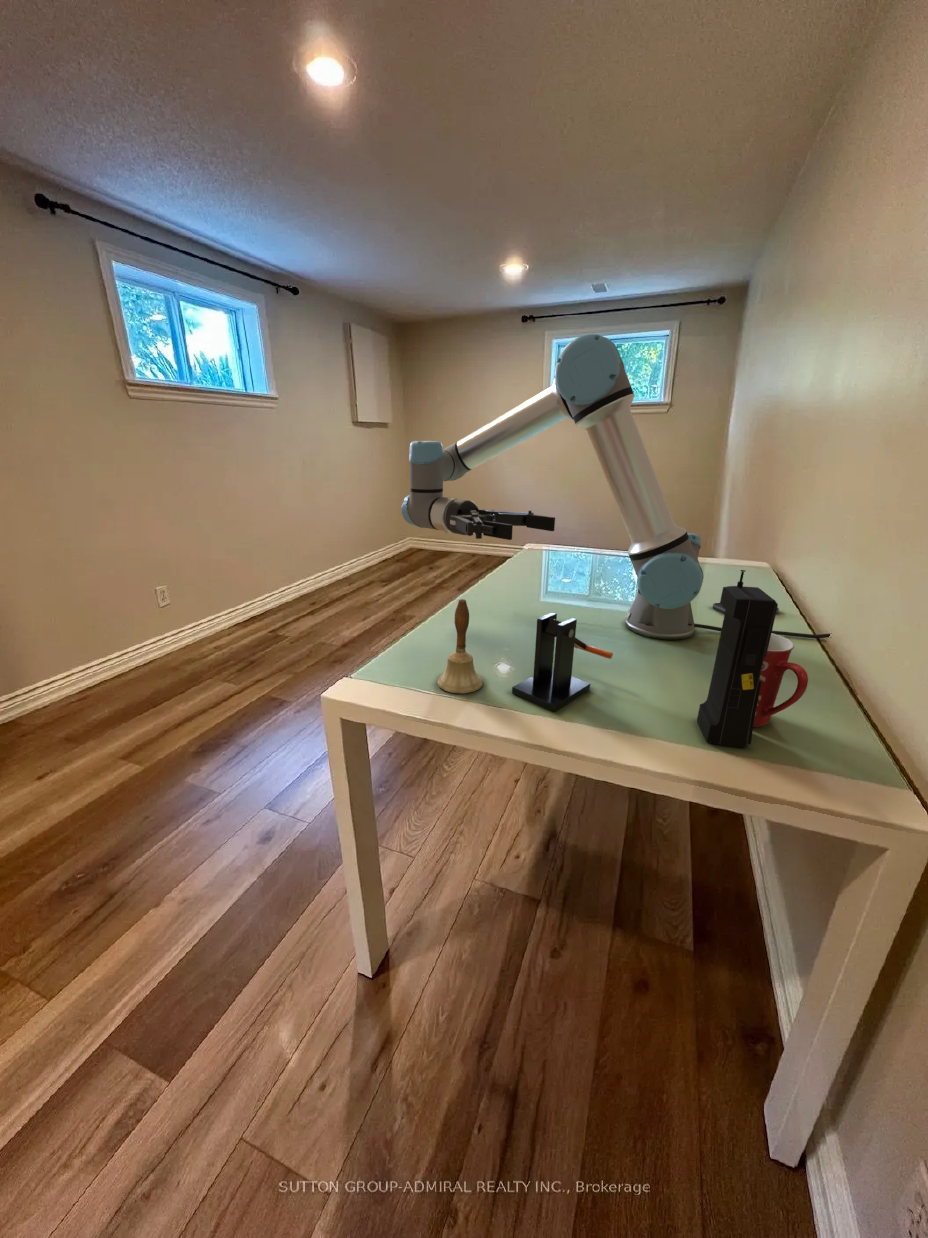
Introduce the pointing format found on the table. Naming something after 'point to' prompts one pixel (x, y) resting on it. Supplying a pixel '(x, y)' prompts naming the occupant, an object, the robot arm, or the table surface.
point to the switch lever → (577, 641)
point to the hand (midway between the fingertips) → (533, 528)
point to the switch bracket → (547, 683)
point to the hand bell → (460, 659)
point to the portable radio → (738, 666)
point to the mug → (777, 679)
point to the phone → (720, 608)
